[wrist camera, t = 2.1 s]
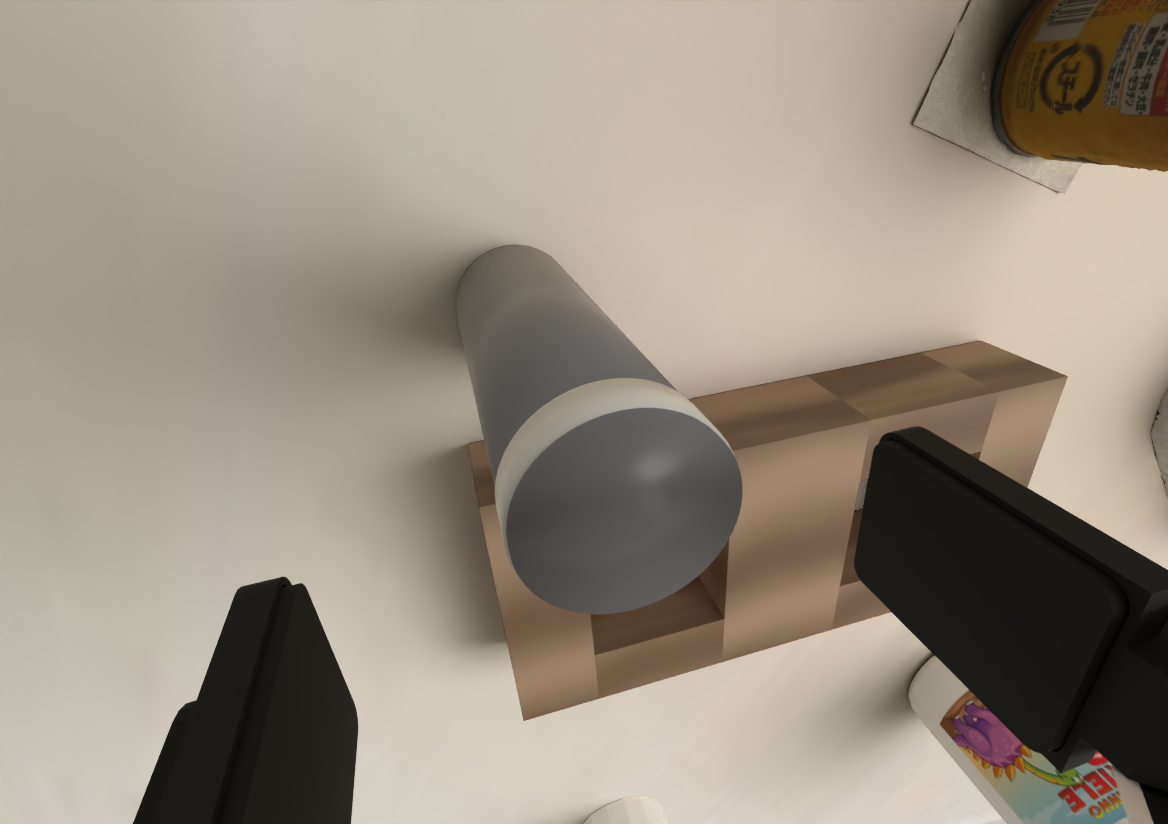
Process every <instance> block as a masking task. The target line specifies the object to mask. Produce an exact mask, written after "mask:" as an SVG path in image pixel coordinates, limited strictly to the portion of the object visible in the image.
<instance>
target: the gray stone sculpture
mask: <svg viewBox="0 0 1168 824" xmlns="http://www.w3.org/2000/svg"><path fill="white" fill-rule="evenodd" d="M1158 411H1159V413H1160V414H1159V415H1157V416H1156V417H1157V419H1158V420H1155V422H1154V426H1153V428H1152V432H1151V438H1152V441H1153V442H1154V443H1153V445H1154V450H1155V452H1156V454H1157V460H1158V461H1159V462H1158V465H1159V468H1160V471H1161V472H1162V474H1161V477H1162V478H1163V479H1164V480H1163V481H1164V482H1166V483H1165V484H1164V486H1165V489H1166V494H1167V496H1168V387H1167V389H1166V391H1165V393H1164V395H1163V398H1162V400H1161V403H1160V405H1159V407H1158Z"/></svg>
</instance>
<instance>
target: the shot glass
mask: <svg viewBox="0 0 1168 824" xmlns="http://www.w3.org/2000/svg"><path fill="white" fill-rule="evenodd" d="M583 824H668V821H667V819H666V817H665V815H664V813H663V810H662V808H661V806H660V804H659V803H658V802H657V801H655V800H654V799H652V798H649V797H642V796H636V797H629V798H623V799H620V800H618V801H615V802H612V803H610V804H607V805H605V806H604V807H602V808H601V809H599V810H597V811H596V812H594V813H593V814H591V815H590V816H589V818H588V819H587V820H586V821H585V822H584V823H583Z"/></svg>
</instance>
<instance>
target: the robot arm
mask: <svg viewBox="0 0 1168 824" xmlns="http://www.w3.org/2000/svg"><path fill="white" fill-rule="evenodd" d="M854 567H855V571H856V574H857V576H858V577H859V579H860V580H861V582H862V583H863V584H864V585H865V586H866V587H867V588H868V589H869V590H870V591H871V592H872V593H873V594H874V595H875V596H876V597H877V598H878V599H879V600H880V601H881V602H882V603H883V604H884V605H885V606H886V607H887V608H888V609H889V610H890V611H891V612H892V613H893V614H894V615H895V616H896V617H897V618H898V619H899V620H900V621H901V622H902V623H903V624H904V625H905V626H906V627H907V628H908V629H909V630H910V631H911V632H912V633H913V634H914V635H915V636H916V637H917V638H918V639H919V640H920V641H921V642H922V643H923V644H924V645H925V646H926V647H927V648H928V649H929V650H930V651H931V652H932V653H933V654H934V655H935V656H936V657H937V658H938V659H939V660H940V661H941V662H942V663H943V664H944V665H945V666H946V667H947V668H948V669H949V670H950V671H951V672H952V673H953V674H954V675H955V676H956V677H957V678H958V679H959V680H960V681H961V682H962V683H963V684H964V685H965V686H966V687H967V688H968V689H969V690H970V691H971V692H972V693H973V694H974V695H975V696H976V697H977V698H978V699H979V700H980V701H981V702H982V703H983V704H984V705H985V706H986V707H987V708H988V709H989V710H990V711H991V712H992V713H993V714H994V715H995V716H996V717H997V718H998V719H999V720H1000V721H1001V722H1002V723H1003V724H1004V725H1005V726H1006V727H1007V728H1008V729H1009V730H1010V731H1011V732H1012V733H1013V734H1014V735H1015V736H1016V737H1017V738H1018V739H1019V740H1020V741H1021V742H1022V743H1023V744H1024V745H1025V746H1026V747H1027V748H1029V749H1031V750H1032V751H1034V752H1037V753H1040V754H1042V755H1043V756H1044V757H1045V758H1046V759H1047V760H1048V761H1049V762H1050V763H1051V764H1052V765H1053V766H1054V767H1055V768H1056V769H1057V770H1058V771H1059V772H1060V773H1063V772H1066V771H1068V770H1071V769H1073V768H1076V767H1078V766H1081V765H1083V764H1086V763H1088V762H1091V761H1092V759H1093V757H1094V755H1095V753H1096V751H1098V752H1099V753H1100V754H1101V755H1102V756H1104V757H1105V758H1106V759H1107V760H1108V761H1109V762H1110V763H1111V768H1112V772H1113V775H1114V778H1115V781H1116V784H1117V787H1118V790H1119V793H1120V796H1121V799H1122V803H1123V806H1124V809H1125V812H1126V815H1127V818H1128V821H1129V824H1168V570H1167V569H1165V568H1163V567H1162V566H1160V565H1158V564H1156V563H1155V562H1153V561H1151V560H1150V559H1148V558H1146V557H1145V556H1143V555H1141V554H1139V553H1138V552H1136V551H1134V550H1133V549H1131V548H1129V547H1127V546H1126V545H1124V544H1122V543H1121V542H1119V541H1117V540H1115V539H1114V538H1112V537H1110V536H1109V535H1107V534H1105V533H1103V532H1102V531H1100V530H1098V529H1097V528H1095V527H1093V526H1092V525H1090V524H1088V523H1086V522H1085V521H1083V520H1081V519H1080V518H1078V517H1076V516H1074V515H1073V514H1071V513H1069V512H1068V511H1066V510H1064V509H1062V508H1061V507H1059V506H1057V505H1056V504H1054V503H1052V502H1050V501H1049V500H1047V499H1045V498H1044V497H1042V496H1040V495H1038V494H1037V493H1035V492H1033V491H1032V490H1030V489H1028V488H1027V487H1025V486H1023V485H1021V484H1020V483H1018V482H1016V481H1015V480H1013V479H1011V478H1009V477H1008V476H1006V475H1004V474H1003V473H1001V472H999V471H997V470H996V469H994V468H992V467H991V466H989V465H987V464H985V463H984V462H982V461H980V460H979V459H977V458H975V457H973V456H972V455H970V454H968V453H967V452H965V451H963V450H962V449H960V448H958V447H956V446H955V445H953V444H951V443H950V442H948V441H946V440H944V439H943V438H941V437H939V436H938V435H936V434H934V433H932V432H931V431H929V430H927V429H925V428H923V427H920V426H914V427H910V428H906V429H901V430H897V431H893V432H889V433H886V434H884V435H883V436H882V437H881V439H880V441H879V444H877V445H876V446H875V448H874V450H873V455H872V460H871V466H870V472H869V477H868V483H867V489H866V495H865V500H864V506H863V512H862V517H861V523H860V529H859V535H858V540H857V546H856V552H855V557H854ZM357 738H358V718H357V712H356V707H355V704H354V701H353V699H352V697H351V694H350V692H349V689H348V687H347V685H346V682H345V680H344V677H343V675H342V673H341V670H340V668H339V665H338V663H337V661H336V658H335V656H334V653H333V651H332V649H331V646H330V644H329V641H328V639H327V637H326V634H325V632H324V629H323V627H322V625H321V622H320V620H319V617H318V615H317V613H316V610H315V608H314V605H313V603H312V601H311V598H310V596H309V593H308V591H307V589H306V587H305V586H304V585H303V584H301V583H300V584H296V585H292V584H291V583H290V581H289V580H288V579H287V578H286V577H280V578H276V579H272V580H268V581H263V582H259V583H255V584H251V585H247V586H242V587H240V588H239V589H238V590H237V592H236V594H235V596H234V599H233V601H232V604H231V607H230V610H229V612H228V615H227V618H226V621H225V623H224V626H223V629H222V632H221V634H220V637H219V640H218V643H217V645H216V648H215V651H214V654H213V656H212V659H211V662H210V665H209V667H208V670H207V673H206V676H205V679H204V681H203V684H202V687H201V690H200V692H199V695H198V698H197V701H193V702H190V703H186V704H185V705H184V706H183V707H182V708H181V709H180V710H179V711H178V713H177V715H176V717H175V719H174V721H173V723H172V725H171V727H170V730H169V733H168V735H167V738H166V740H165V743H164V745H163V748H162V751H161V753H160V756H159V758H158V761H157V763H156V766H155V768H154V771H153V774H152V776H151V779H150V781H149V784H148V786H147V789H146V792H145V794H144V797H143V799H142V802H141V804H140V807H139V810H138V812H137V815H136V817H135V820H134V822H133V824H351V814H352V802H353V789H354V776H355V763H356V751H357Z"/></svg>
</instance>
